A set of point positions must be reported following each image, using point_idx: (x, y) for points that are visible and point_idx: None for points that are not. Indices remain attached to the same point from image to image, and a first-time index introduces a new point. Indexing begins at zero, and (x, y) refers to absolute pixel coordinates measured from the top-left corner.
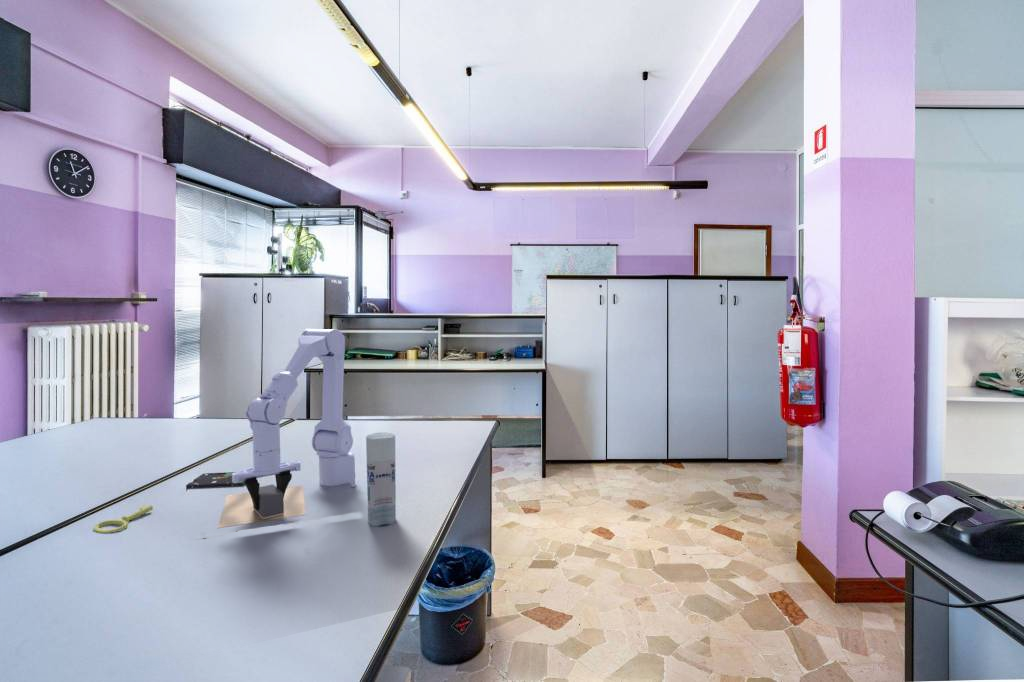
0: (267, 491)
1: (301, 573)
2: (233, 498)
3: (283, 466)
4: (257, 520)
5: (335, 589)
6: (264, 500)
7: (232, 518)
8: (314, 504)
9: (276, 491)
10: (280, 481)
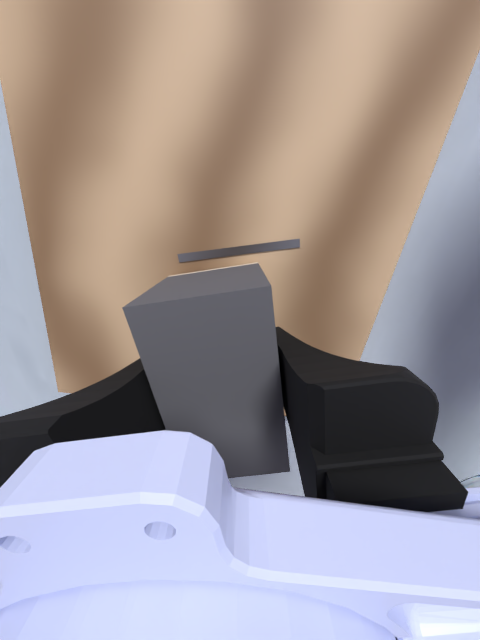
0: (216, 415)
1: None
2: None
3: (433, 633)
4: None
5: None
6: None
7: (93, 332)
8: (414, 285)
9: (263, 437)
10: (304, 482)
